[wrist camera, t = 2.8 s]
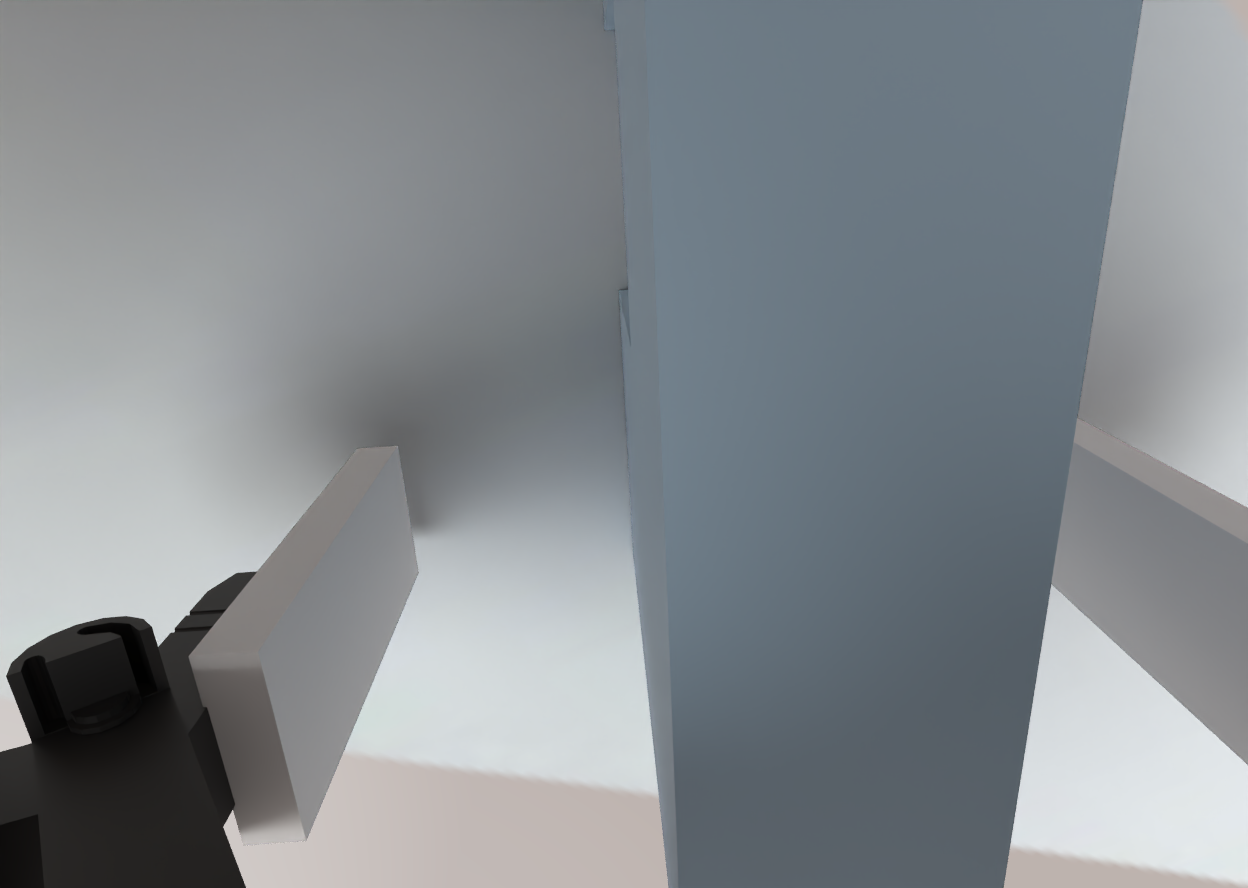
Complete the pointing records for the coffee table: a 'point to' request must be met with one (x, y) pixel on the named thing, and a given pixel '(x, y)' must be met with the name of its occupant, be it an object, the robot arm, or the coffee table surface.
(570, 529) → the coffee table surface
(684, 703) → the blue bridge block
